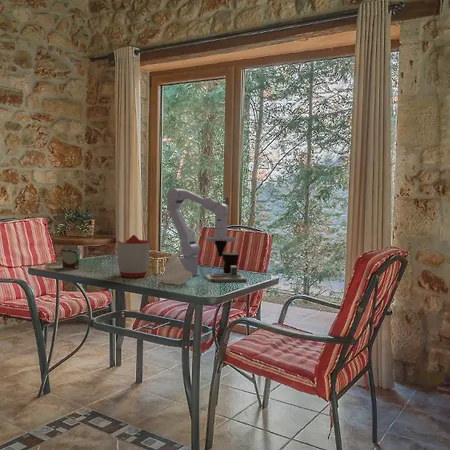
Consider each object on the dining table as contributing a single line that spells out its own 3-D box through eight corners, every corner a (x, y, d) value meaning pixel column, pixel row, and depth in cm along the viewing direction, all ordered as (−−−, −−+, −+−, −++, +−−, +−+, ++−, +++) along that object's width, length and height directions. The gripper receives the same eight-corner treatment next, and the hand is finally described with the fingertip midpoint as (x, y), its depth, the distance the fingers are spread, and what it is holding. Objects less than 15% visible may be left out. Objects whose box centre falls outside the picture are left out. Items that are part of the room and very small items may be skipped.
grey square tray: (211, 282, 233) (211, 279, 233) (205, 276, 249) (205, 273, 249) (246, 282, 236) (246, 279, 236) (237, 276, 252) (237, 273, 252)
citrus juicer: (129, 271, 256) (129, 232, 254) (156, 275, 247) (156, 235, 245) (106, 275, 242) (107, 234, 241) (134, 280, 233) (135, 237, 232)
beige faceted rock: (167, 289, 221) (159, 258, 220) (161, 286, 236) (154, 256, 235) (194, 281, 225) (186, 250, 224) (187, 278, 239) (179, 249, 238)
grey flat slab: (209, 281, 236) (209, 276, 235) (204, 276, 247) (204, 272, 247) (246, 280, 239) (246, 276, 239) (240, 276, 251) (240, 272, 251)
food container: (86, 268, 263) (86, 249, 262) (77, 269, 258) (77, 250, 257) (70, 265, 269) (70, 247, 269) (60, 267, 264) (61, 248, 264)
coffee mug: (236, 274, 257) (237, 255, 256) (220, 273, 258) (220, 254, 258) (240, 271, 268) (241, 252, 267) (224, 270, 270) (225, 251, 269)
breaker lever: (230, 276, 242) (230, 266, 242) (228, 275, 245) (229, 265, 245) (238, 276, 243) (238, 266, 243) (236, 275, 246) (237, 265, 246)
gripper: (207, 229, 240) (207, 257, 241) (237, 229, 243) (236, 257, 244) (205, 227, 247) (204, 255, 247) (234, 228, 250) (233, 255, 251)
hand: (220, 256), depth 246 cm, fingers closed
